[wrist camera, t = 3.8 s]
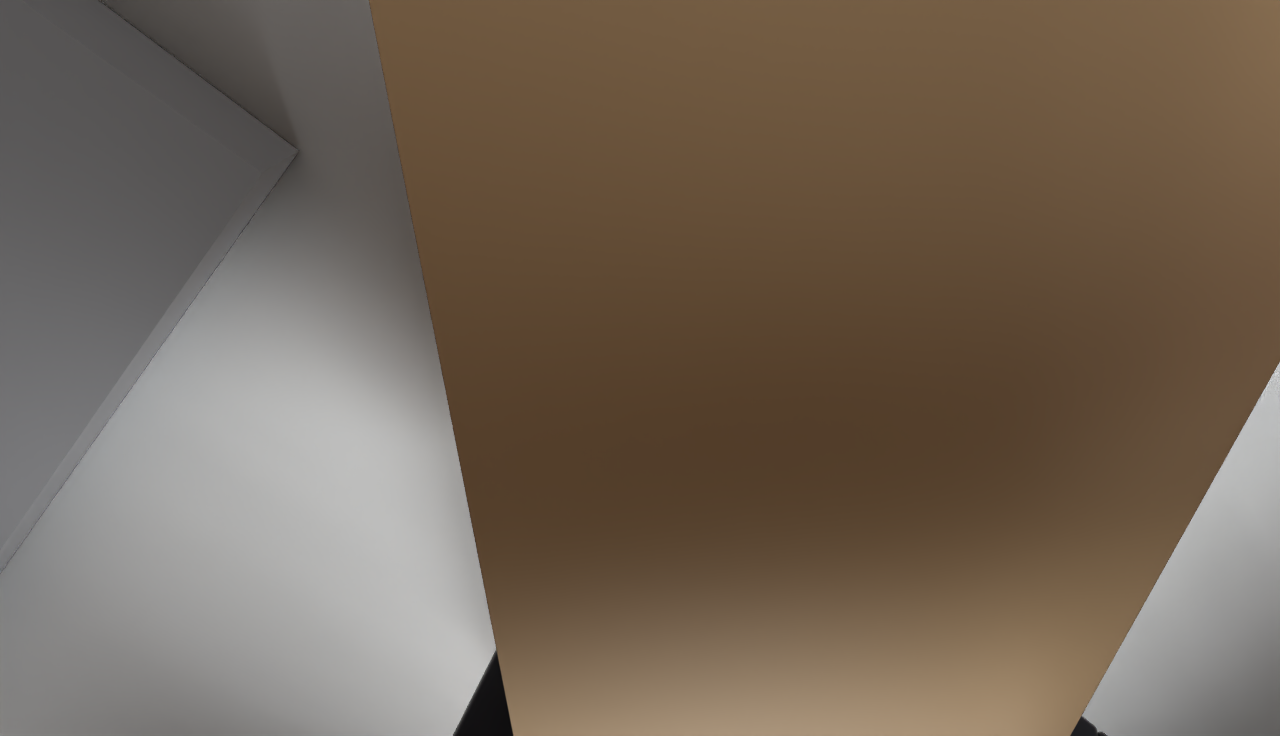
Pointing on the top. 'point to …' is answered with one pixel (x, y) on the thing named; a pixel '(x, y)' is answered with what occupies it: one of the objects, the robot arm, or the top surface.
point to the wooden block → (835, 340)
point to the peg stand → (102, 226)
